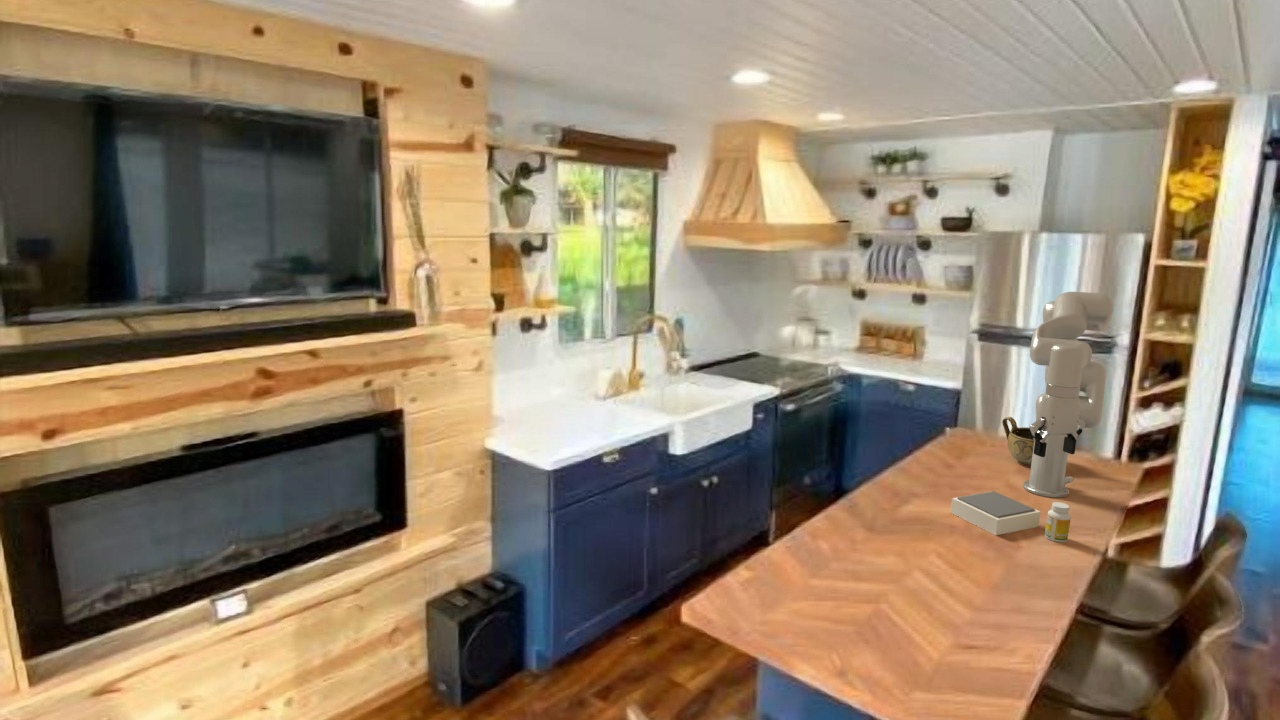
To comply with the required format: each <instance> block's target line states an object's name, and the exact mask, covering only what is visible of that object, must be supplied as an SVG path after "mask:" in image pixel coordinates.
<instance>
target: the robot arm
mask: <svg viewBox="0 0 1280 720" xmlns="http://www.w3.org/2000/svg"><path fill="white" fill-rule="evenodd" d="M1113 311H1114V304H1113V300H1112V298H1111V297H1110V296H1109V295H1108V294H1105V293H1102V292H1089V291H1087V292H1085V291H1084V292H1082V291H1067V292H1063V293H1061V294H1059V295H1058V296H1057V297H1056V298H1055V300H1052V301H1049V302H1047V303H1045V305H1044V307H1043V308H1042V322H1043V323H1041V324H1040V325H1038V326H1037V328H1035V330H1034V331H1033V334H1032V337H1031V341H1030V347H1029V357H1030V360H1031V362H1032V363H1034V364H1035V365H1038V366H1043V367H1045V369H1044V370H1045V371H1044V372H1045V373H1044V382H1045V383H1046V384H1045V385H1046V386H1045V387H1046V388H1045V392H1044V393H1042V394H1040V395H1039V396H1037V398H1036V402H1035V421H1034V422H1033V423H1031V424H1030V425H1029V427H1028V428H1030V431H1031V435H1032V436H1033V439H1034V448H1033V455H1032V463H1031V466H1030V473H1029V478H1028V479H1029V480H1028V479H1026V480H1025V481H1024V482H1023V483H1022V484H1023V485H1022V486H1023V489H1025V490H1026V491H1028V492H1030V493H1031V494H1034V495H1038V496H1042V497H1048V498H1064V497H1067V496H1069V493H1070V491H1069V489H1068V488H1067V487H1066V485H1067V484H1070V483H1073V482H1074V477H1073V476H1066V473H1067V472H1066V471H1067V466H1068V465H1067V464H1068V458H1069V454H1070V455H1075V452H1076V447H1077V446H1076V445H1077V441H1078V440H1079V439H1080V435H1081V434H1082V433H1083V429H1084V428H1085V429H1086V428H1087V429H1093V428H1097V427H1098V426H1099V425H1100V422H1101V421H1102V417H1103V407H1104V397H1105V396H1104V395H1105V388H1106V375H1107V374H1106V369H1105V367H1104V365H1103V364H1101V363H1099V362H1096V361H1091V360H1092V357H1093V350H1092V349H1093V348H1091V346H1090V344H1089V343H1087V342H1086V341H1083V340H1079V339H1078V338H1080V337H1081V336H1082V335H1084V334H1085V332H1086V331H1093V332H1101V331H1104V330H1105V329H1107V327H1108V325H1109V324H1110V321H1111V319H1112V316H1113ZM1081 392H1082V393H1084V394H1085V396H1084V395H1080V393H1081Z"/></svg>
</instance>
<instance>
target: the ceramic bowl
mask: <svg viewBox="0 0 1280 720" xmlns="http://www.w3.org/2000/svg"><path fill="white" fill-rule="evenodd" d="M1008 421H1009V423H1010V425H1011V429H1010V428H1009V425H1008ZM1002 426H1003V429H1004V432H1005V437H1006V441H1007V449H1008V452H1009V453H1010V454H1011V456H1012V457H1013V458H1014V459H1015V460H1017V461H1018V462H1020V463H1022V464H1024V465H1027V466H1029V467H1031V463H1032V455H1033V448H1034V439H1033V436H1032V435H1031V431H1030V428H1029V427H1026V426H1025V427H1024V426H1023V427H1022V426H1021V427H1018V424H1017V422H1016V420H1015V418H1013V417H1012V416H1006V417H1005V418H1003V419H1002Z"/></svg>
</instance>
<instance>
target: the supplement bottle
mask: <svg viewBox="0 0 1280 720" xmlns="http://www.w3.org/2000/svg"><path fill="white" fill-rule="evenodd" d="M1051 503H1052V504H1051V509H1050V510H1048V512H1047V515H1046V516H1047V517H1046V523H1045V529H1044V536H1045V538H1046V539H1047V540H1049V541H1051V542H1052V541H1053V542H1057V543H1065V542H1067V541H1068V538H1069V533H1070V526H1071V518H1072V516H1071V514H1070V513H1069V511H1070V505H1069V504H1067V503H1064V502H1060V501H1059V502H1058V501H1055V502H1051Z"/></svg>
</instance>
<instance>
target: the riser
mask: <svg viewBox="0 0 1280 720" xmlns="http://www.w3.org/2000/svg"><path fill="white" fill-rule="evenodd" d="M950 514H952V515H953V516H954V515H955V516H956V517H958V516H959V517H958V518H960V519H962V518H963V519H962V520H964V521H966V522H968V523H970V524H972V525H974V526H976V525H977V526H976V527H978V528H980V529H983V530H984V531H986V532H987V533H989V534H992V535H994V536H999V535H1001V536H1002V535H1004V534H1005V535H1006V534H1010V533H1015V532H1019V531H1020V532H1021V531H1025V530H1029V529H1034V528H1038V527H1040V519H1041V511H1040V510H1038V509H1035V508H1034V507H1031V506H1029V505H1027V504H1024V503H1022V502H1019V501H1017V500H1016V499H1013V498H1010V497H1008V496H1006V495H1003V494H1001V493H998V492H996V491H994V490H993V491H992V490H991V491H988V492H981V493H975V494H970V495H964V496H957V497H951V506H950Z"/></svg>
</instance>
